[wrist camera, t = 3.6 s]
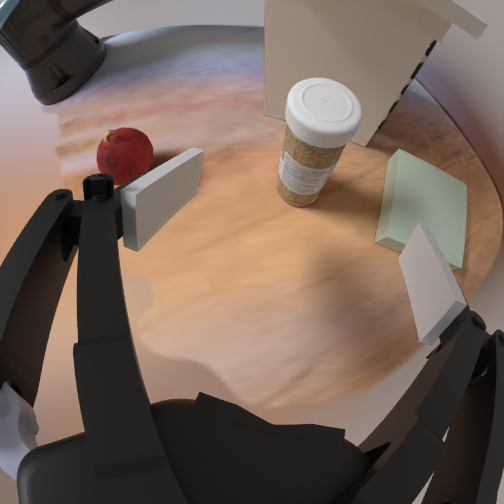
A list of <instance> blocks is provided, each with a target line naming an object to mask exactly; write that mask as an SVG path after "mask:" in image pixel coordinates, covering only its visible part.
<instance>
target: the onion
mask: <svg viewBox="0 0 504 504" xmlns="http://www.w3.org/2000/svg"><path fill="white" fill-rule="evenodd" d="M152 161H153V147H152V144H151V142H150V140H149V139H148V137H147V136H146V135H145V134H144V133H143V132H141V131H139V130H137V129H134V128H119V129H116V130H108V131H107V132H105V133H104V137H103V139H102V141H101V143H100V145H99V147H98V151H97V164H98V168H99V171H100V173H105V174H110V175H111V176H113V181H114V185H120V186H121V185H122V184H123V185H124V183H125V182H127V181H129V180H130V179H132V178H133V177H135V176H138V175H141V174H146V173H147V172H148V170H149V169H150V166H151V163H152Z"/></svg>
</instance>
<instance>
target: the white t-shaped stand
mask: <svg viewBox="0 0 504 504" xmlns="http://www.w3.org/2000/svg"><path fill="white" fill-rule="evenodd" d="M452 24H455V25H457V26H458V27H460V28H461V29H463V30H464V31H466V32H467V33H469V34H470V35H472V36H473V37H475V38H476V39H478V38H479V37H480V36H481V34H482V33H483V31H484V30H485V28H486V27H487V24H486V22H485V21H484V19H483V18H482V17H481V15H480V14H479V12H478V11H477V10H476V8H475V7H474V6H473V5H472V3H471V2H470V0H265V26H264V115H267V116H271V117H275V118H278V119H282V120H286V118H285V112H286V104H287V98H288V94H289V92H290V90H291V89H292V87H293V86H294V85H296V84H297V83H298V82H300V81H302V80H305V79H309V78H326V79H330V80H334V81H336V82H339V83H341V84H342V85H344V86H346V87H347V88H348V89H350V90H351V91H352V92H353V93H354V94H355V95H356V97H357V98H358V100H359V101H360V104H361V106H362V110H363V117H362V121H361V123H360V126H359V128H358V130H357V132H356V134H355V135H354V137H353V138H352V140H351V142H354V143H356V144H359V145H361V146H364V147H365V146H366V145H367V143H368V142H369V140H370V139H371V137H372V136H373V134H374V133H375V131H376V130H377V128H378V127H379V125H380V124H381V122H382V121H383V119H384V118H385V116H386V114H387V113H388V111H389V110H390V108H391V107H392V105H393V104H394V102H395V100H396V99H397V97H398V96H399V94H400V93H401V91H402V89H403V88H404V86H405V85H406V83H407V81H408V80H409V78H410V77H411V75H412V73H413V72H414V70H415V69H416V67H417V65H418V64H419V62H420V60H421V59H422V57H423V55H424V54H425V52H426V50H427V49H428V47H429V45H430V44H431V42H432V40H433V39H434V40H436V41H438V42H440V43H441V42H442V40H443V38H444V37H445V35H446V34H447V32H448V30H449V29H450V27H451V25H452Z"/></svg>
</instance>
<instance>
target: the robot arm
mask: <svg viewBox="0 0 504 504" xmlns="http://www.w3.org/2000/svg"><path fill="white" fill-rule="evenodd" d="M110 1H113V0H5V1H4V2H3V3H2V4H1V5H0V45H1V46H2V47H3V48H4V49H5V50H6V51H7V53H8V54H9V55H10V56H11V57H12V58H13V59H14V60H15V61H16V62H17V63H18V65H20V67H21V68H22V69H23V70H24V71H25V73H26V75H27V78H28V81H29V84H30V87H31V89H32V92H33V94H34V96H35V97H36V99H37V100H38V101H39V102H40V103H42V104H44V105H48V104H53V103H55V102H58V101H60V100H61V99H63V98H65V97H67V96H68V95H70V94H71V93H72V92H74V91H75V90H76V89H78V88H79V87H80V86H81V85H82V84H83V83H84V82H86V81H87V80H88V79H89V78H90V77H91V76H92V75H93V73H94V72H95V71H96V70H97V69H98V67H99V66H100V65H101V63H102V61H103V60H104V57H105V55H106V48H105V46H104V45H103V43H102V41H101V40H100V39H99V38H98V37H96V36H95V35H93V34H92V33H90V32H89V31H88V30H86V29H85V28H83V27H82V26H80V25H79V23H78V22H77V20H76V18H78V17H80V16H82V15H84V14H86V13H88V12H89V11H92V10H93V9H96V8H98V7H100V6H101V5H104V4H106V3H108V2H110ZM203 155H204V150H201V149H197V148H190V149H189V150H187V151H185V152H183V153H181V154H179V155H178V156H176V157H174V158H172V159H170V160H169V161H167V162H165V163H164V164H162V165H160V166H158V167H157V168H155V169H153V170H152V171H150V172H148V173H147V174H141V175H138V176H135V177H133V178H132V179H130V180H129V181H127V182H125V183H124V185H123V184H122V185H121V186H119V187H117V188H116V189H114V181H113V176H111V175H110V174H105V173H101V174H94V175H91V176H88V177H87V178H85V179H84V180H83V191H84V201H80V200H73V194H72V191H71V190H68V189H58V190H55V191H54V192H52V193H50V194H49V195H48V196H47V197H46V198H45V199H44V201H43V202H42V204H41V205H40V206H39V207H38V209H37V210H36V211H35V213H34V214H33V216H32V217H31V218H30V220H29V221H28V223H27V224H26V226H25V227H24V229H23V230H22V232H21V233H20V235H19V236H18V238H17V239H16V241H15V243H14V244H13V246H12V248H11V249H10V251H9V252H8V254H7V256H6V257H5V259H4V261H3V263H2V265H1V266H0V468H2V469H3V470H4V471H5V472H6V473H7V474H9V475H10V476H11V477H12V478H13V479H15V480H16V481H17V490H18V496H19V504H412V502H413V501H414V500H415V498H416V497H417V496H418V494H419V493H420V492H421V490H422V489H423V487H424V486H425V484H426V483H427V481H428V480H429V478H430V477H431V475H432V474H433V472H434V471H435V472H434V474H433V476H432V479H431V481H430V484H429V486H428V488H427V491H426V493H425V496H424V498H423V500H422V503H421V504H496V501H497V492H498V489H499V485H500V481H501V477H502V473H503V468H504V333H503V332H502V331H501V330H496V331H495V332H494V333H493V334H492V335H490V334H488V333H487V332H486V325H485V323H484V321H483V320H482V318H481V317H480V316H479V315H478V314H477V313H475V312H474V311H470V309H469V306H468V304H467V302H466V299H465V297H464V296H463V292H462V291H461V288H460V286H459V283H458V282H457V280H456V278H455V276H454V274H453V272H452V270H451V268H450V266H449V264H448V262H447V260H446V258H445V256H444V254H443V252H442V251H441V249H440V247H439V245H438V243H437V241H436V240H435V238H434V236H433V234H432V233H431V231H430V229H429V227H428V226H425V225H423V224H421V223H419V222H418V224H417V226H416V228H415V230H414V232H413V233H412V235H411V237H410V239H409V241H408V242H407V244H406V246H405V248H404V249H403V251H402V253H401V255H400V256H399V258H398V259H399V263H400V266H401V269H402V273H403V276H404V279H405V283H406V287H407V290H408V294H409V298H410V302H411V306H412V310H413V314H414V319H415V323H416V328H417V332H418V337H419V342H420V343H424V344H428V345H432V343H433V342H434V341H435V340H436V339H437V338H438V337H439V338H440V342H441V343H440V344H439V345H438V346H437V347H436V348H435V349H434V350H433V351H432V352H431V353H430V354H429V355H428V356H427V357H426V358H427V359H428V358H429V357H430V358H429V360H428V361H427V363H426V364H425V366H424V367H423V369H422V370H421V371H420V373H419V374H418V376H417V377H416V379H415V380H414V381H413V383H412V384H411V386H410V387H409V388H408V390H407V391H406V392H405V394H404V395H403V396H402V398H401V399H400V400H399V402H398V403H397V404H396V405H395V407H394V408H393V409H392V410H391V411H390V413H389V414H388V415H387V416H386V417H385V418H384V420H383V421H382V422H381V423H380V424H379V425H378V427H377V428H376V429H375V430H374V431H373V432H372V433H371V434H370V435H369V436H368V437H367V439H365V440H364V441H363V442H362V443H361V444H360V445H359V446H357V447H356V446H355V445H354V444H352V443H351V442H349V441H348V440H346V439H344V436H345V429H339V428H333V427H326V426H321V425H315V424H300V425H274V424H271V423H269V422H267V421H265V420H263V419H261V418H259V417H258V416H256V415H254V414H252V413H250V412H249V411H247V410H245V409H243V408H242V407H240V406H238V405H236V404H233V403H230V402H227V401H224V400H221V399H218V398H215V397H212V396H210V395H207V394H204V393H201V392H199V394H198V397H197V399H196V400H193V399H169V400H164V401H160V402H156V403H153V404H150V402H149V398H148V395H147V392H146V389H145V385H144V382H143V378H142V375H141V371H140V367H139V363H138V359H137V356H136V351H135V347H134V342H133V338H132V334H131V329H130V324H129V318H128V313H127V308H126V302H125V296H124V289H123V283H122V276H121V268H120V260H119V250H118V240H119V239H120V238H121V237H122V236H123V242H124V247H126V248H129V249H131V250H134V251H136V252H138V251H139V250H140V249H141V248H142V247H143V246H144V245H145V244H146V243H147V242H148V241H149V240H150V239H151V238H152V237H153V236H154V235H155V234H156V233H157V232H158V231H159V230H160V229H161V228H162V227H163V226H164V225H165V224H166V223H167V222H168V221H169V220H170V219H171V218H172V217H173V216H174V215H175V214H176V213H177V212H178V211H179V210H180V209H181V208H182V207H183V206H184V205H185V204H186V203H187V202H188V201H189V200H191V199H192V198H193V197H194V196H195V195H196V194H197V193H198V190H199V183H200V175H201V168H202V161H203ZM78 247H79V251H78V267H77V326H78V343H75V344H74V347H73V357H74V367H75V377H76V384H77V392H78V398H79V404H80V409H81V415H82V420H83V424H84V429H85V432H82V433H79V434H76V435H73V436H70V437H67V438H64V439H62V440H58V441H55V442H52V443H49V444H45V445H42V446H39V447H38V445H37V443H36V439H35V436H36V435H37V434H38V431H39V426H38V424H37V421H36V416H35V413H34V410H33V406H34V403H35V399H36V396H37V392H38V386H39V382H40V376H41V371H42V365H43V360H44V356H45V351H46V347H47V342H48V338H49V334H50V330H51V326H52V323H53V319H54V316H55V312H56V309H57V305H58V302H59V299H60V296H61V293H62V290H63V287H64V284H65V281H66V278H67V275H68V273H69V270H70V267H71V265H72V262H73V259H74V257H75V255H76V252H77V250H78ZM485 372H486V373H485ZM484 373H485V374H484ZM483 374H484V375H483ZM482 375H483V376H482ZM449 425H450V426H449ZM448 427H449V430H448V433H447V437H446V440H445V443H444V441H443V440H442V438H443V437H444V435H445V433H446V431H447V429H448Z"/></svg>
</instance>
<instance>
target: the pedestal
mask: <svg viewBox="0 0 504 504" xmlns="http://www.w3.org/2000/svg"><path fill="white" fill-rule="evenodd" d="M466 218H467V185H466V184H464V183H463V182H461V181H460V180H458V179H456V178H454V177H453V176H451V175H449V174H448V173H446V172H444V171H442V170H440V169H439V168H437V167H435V166H433V165H431V164H429V163H427V162H425V161H423V160H421V159H419V158H417V157H415V156H413V155H411V154H409V153H407V152H405V151H403V150H401V149H398V150H397V151H396V152H395V153H394V154H393V156H392V157H391V158H390V159H389V160H388V164H387V172H386V179H385V186H384V193H383V199H382V205H381V211H380V216H379V221H378V227H377V232H376V237H375V241H374V243H376V244H379V245H381V246H384V247H387V248H389V249H392V250H394V251H397V252H400V253H402V251H403V249H404V248H405V246H406V244H407V242H408V241H409V239H410V237H411V235H412V233H413V232H414V230H415V228H416V226H417V224H418V222H419V223H421V224H423V225H425V226H428V227H429V229H430V231H431V233H432V234H433V236H434V238H435V240H436V241H437V243H438V245H439V247H440V249H441V251H442V252H443V254H444V256H445V258H446V260H447V262H448V264H449V266H450V268H451V270H455V269H461V268H462V263H463V255H464V246H465V234H466Z"/></svg>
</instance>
